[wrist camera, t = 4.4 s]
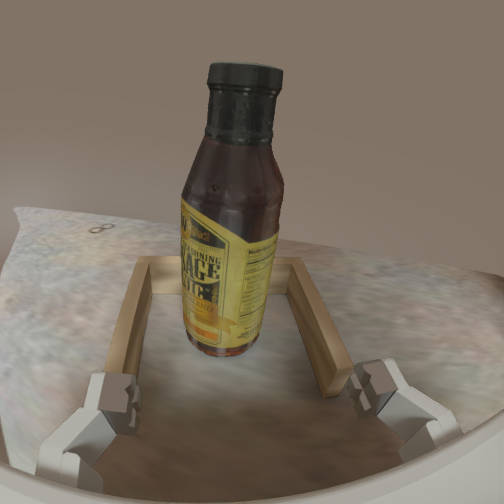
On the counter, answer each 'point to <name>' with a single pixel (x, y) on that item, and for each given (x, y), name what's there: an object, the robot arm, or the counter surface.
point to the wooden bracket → (281, 282)
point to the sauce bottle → (231, 211)
